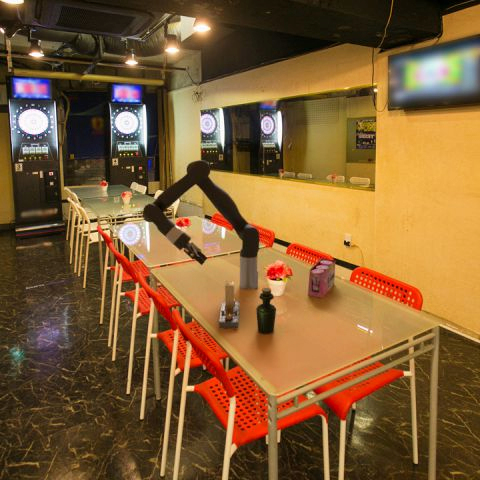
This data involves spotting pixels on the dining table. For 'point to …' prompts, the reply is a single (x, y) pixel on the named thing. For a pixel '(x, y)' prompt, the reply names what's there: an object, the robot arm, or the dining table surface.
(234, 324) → the hand plane
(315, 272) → the gum box
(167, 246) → the dining table surface
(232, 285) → the wood grain block
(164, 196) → the robot arm
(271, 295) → the potion bottle
